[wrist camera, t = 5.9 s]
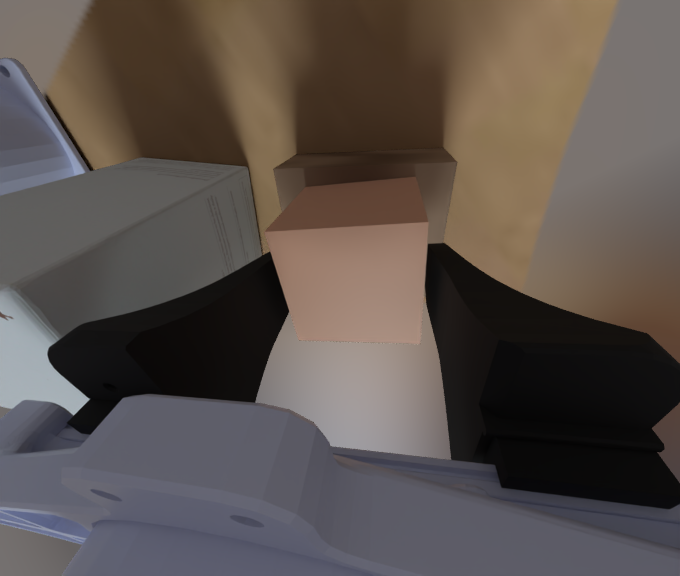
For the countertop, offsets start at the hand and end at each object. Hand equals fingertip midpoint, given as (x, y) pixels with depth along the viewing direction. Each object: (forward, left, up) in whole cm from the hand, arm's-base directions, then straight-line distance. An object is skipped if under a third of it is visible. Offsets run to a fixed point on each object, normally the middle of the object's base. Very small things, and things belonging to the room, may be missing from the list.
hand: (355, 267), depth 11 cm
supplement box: (-11, 0, -7) cm, 13 cm away
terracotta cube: (0, 0, -3) cm, 3 cm away
